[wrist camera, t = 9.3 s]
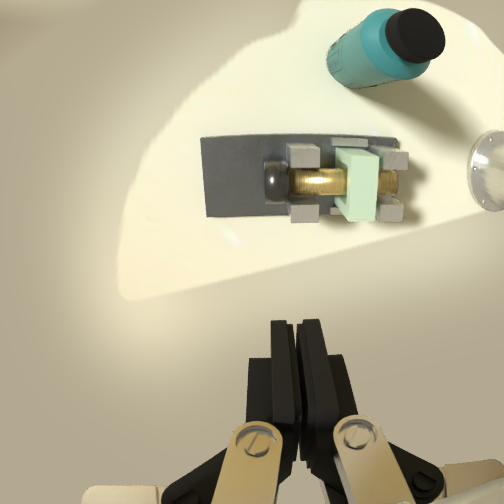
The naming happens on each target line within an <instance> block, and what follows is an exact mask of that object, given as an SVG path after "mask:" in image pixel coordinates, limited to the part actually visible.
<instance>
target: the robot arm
mask: <svg viewBox="0 0 504 504" xmlns="http://www.w3.org/2000/svg"><path fill="white" fill-rule="evenodd" d="M468 184H469V188H470V192H471V194H472V196H473V198H474V199H475V201H476V202H477V203H478V204H479V205H480V206H481V207H483V208H485V209H486V210H489V211H500V210H503V209H504V132H502V131H498V130H496V131H490V132H487V133H485V134H484V135H482V136H481V137H480V138H479V139H478V140H477V142H476V144H475V145H474V147H473V149H472V151H471V154H470V158H469V162H468ZM298 444H299V448H300V460H301V461H306V462H307V468H311V473H312V474H313V475H315V476H316V477H318V478H319V480H320V485H321V489H322V492H323V496H324V499H325V503H326V504H504V465H503V464H502V463H501V462H500V461H498V460H495V459H489V460H483V461H475V462H467V463H458V464H447V465H445V466H444V467H436V466H435V465H433V464H431V463H429V462H427V461H425V460H423V459H421V458H419V457H417V456H415V455H413V454H411V453H409V452H407V451H405V450H403V449H401V448H399V447H397V446H395V445H393V444H391V443H390V442H388V441H387V440H386V438H385V435H384V433H383V431H382V429H381V427H380V426H379V425H378V423H377V422H376V421H375V420H373V419H372V418H370V417H367V416H363V415H358V412H357V408H356V404H355V400H354V396H353V392H352V388H351V384H350V380H349V377H348V373H347V369H346V365H345V362H344V359H343V356H342V355H341V354H338V355H328V354H327V350H326V346H325V341H324V337H323V333H322V329H321V324H320V321H319V319H305V320H303V324H297V333H296V348H295V339H294V331H293V325H292V324H287V322H286V320H277V321H276V320H274V321H271V358H249V368H248V389H247V408H246V423H244V424H243V425H241V426H239V427H238V428H237V429H235V430H234V431H233V433H232V435H231V437H230V440H229V444H228V447H227V448H225V449H224V450H223V451H221V452H220V453H218V454H217V455H215V456H214V457H213V458H211V459H209V460H208V461H206V462H205V463H203V464H202V465H200V466H199V467H197V468H196V469H194V470H193V471H191V472H190V473H188V474H186V475H185V476H183V477H182V478H180V479H178V480H177V481H175V482H174V483H172V484H171V485H169V486H168V487H156V485H143V486H112V485H111V486H110V485H97V486H92V487H90V488H88V489H87V490H86V491H85V493H84V494H83V497H82V502H81V504H276V503H277V497H278V491H279V485H280V483H282V482H283V481H284V480H285V479H286V478H287V477H288V476H290V475H291V470H292V463H293V461H296V457H297V450H298Z"/></svg>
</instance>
